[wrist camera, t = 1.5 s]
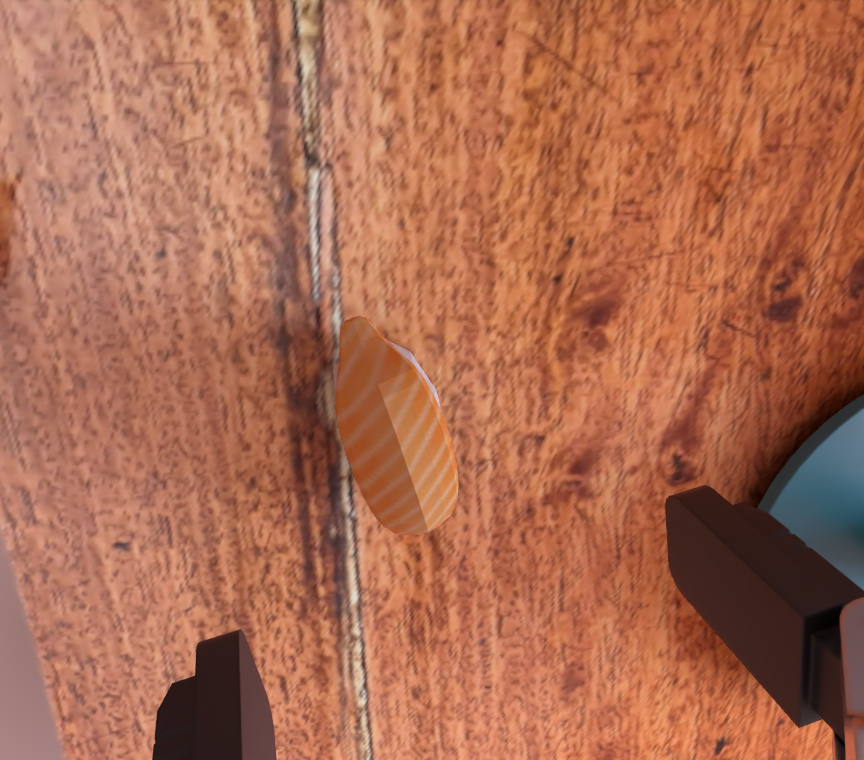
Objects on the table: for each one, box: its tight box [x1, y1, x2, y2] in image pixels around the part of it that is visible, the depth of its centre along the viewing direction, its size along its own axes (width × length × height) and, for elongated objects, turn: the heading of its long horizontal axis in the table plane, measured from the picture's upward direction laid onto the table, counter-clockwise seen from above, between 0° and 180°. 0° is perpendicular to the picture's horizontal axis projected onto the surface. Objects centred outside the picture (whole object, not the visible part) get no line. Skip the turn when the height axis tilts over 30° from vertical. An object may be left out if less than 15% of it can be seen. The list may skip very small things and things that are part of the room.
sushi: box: [333, 316, 459, 535], centre depth 19 cm, size 3×6×3 cm, turn 17°
